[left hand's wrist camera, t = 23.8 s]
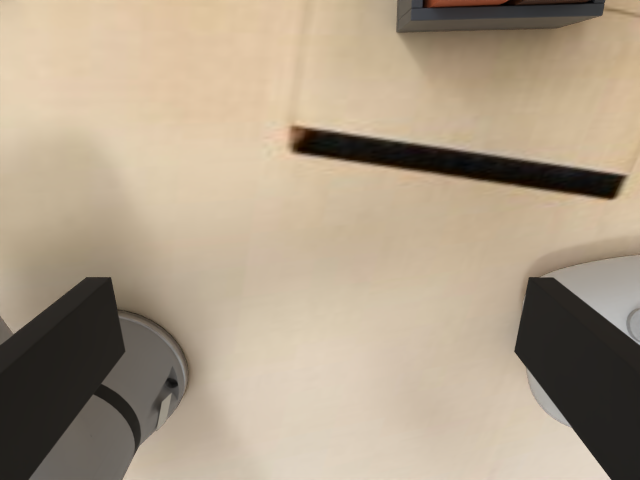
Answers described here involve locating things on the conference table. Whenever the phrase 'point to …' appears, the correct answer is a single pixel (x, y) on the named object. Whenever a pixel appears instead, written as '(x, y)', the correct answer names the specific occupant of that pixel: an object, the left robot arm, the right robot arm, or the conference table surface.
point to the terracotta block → (460, 3)
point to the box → (492, 16)
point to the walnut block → (541, 2)
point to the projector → (600, 303)
